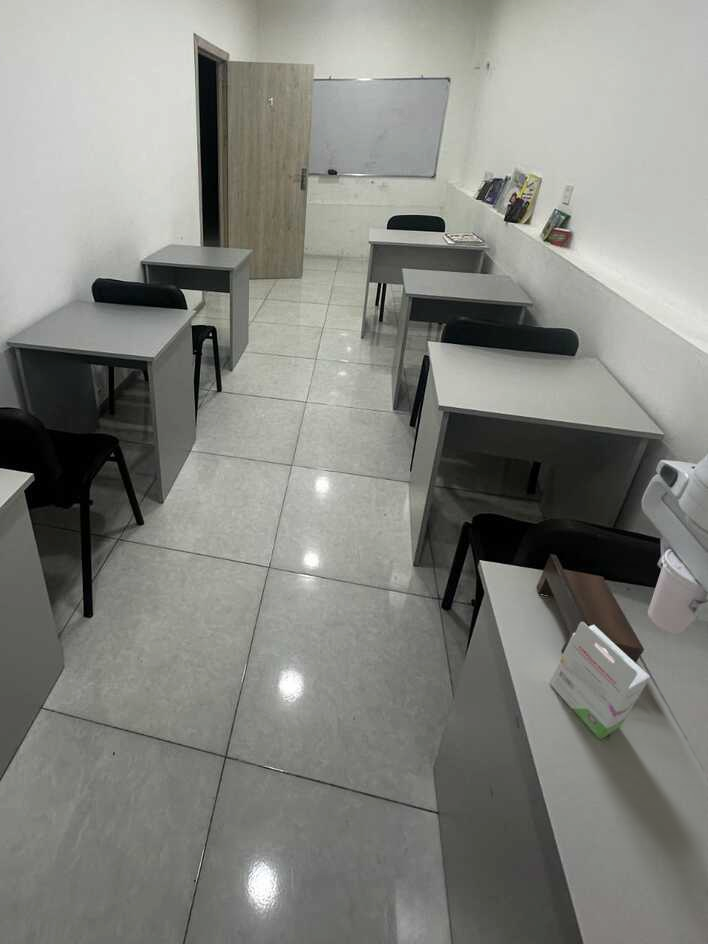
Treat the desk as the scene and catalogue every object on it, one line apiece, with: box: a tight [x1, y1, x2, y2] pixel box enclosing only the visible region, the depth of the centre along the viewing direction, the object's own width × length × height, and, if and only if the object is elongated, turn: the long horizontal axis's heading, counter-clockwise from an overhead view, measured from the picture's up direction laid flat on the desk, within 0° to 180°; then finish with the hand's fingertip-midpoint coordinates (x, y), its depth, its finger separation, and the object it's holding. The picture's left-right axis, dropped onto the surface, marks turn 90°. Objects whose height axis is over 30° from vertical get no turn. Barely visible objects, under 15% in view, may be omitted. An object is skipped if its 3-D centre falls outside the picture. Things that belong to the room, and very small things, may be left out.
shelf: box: [535, 553, 645, 664], centre depth 83 cm, size 10×14×9 cm
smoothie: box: [647, 549, 708, 635], centre depth 60 cm, size 6×6×14 cm
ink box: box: [549, 622, 651, 741], centre depth 70 cm, size 9×5×15 cm, turn 22°
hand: (681, 592), depth 61 cm, fingers closed on smoothie, 5 cm apart
